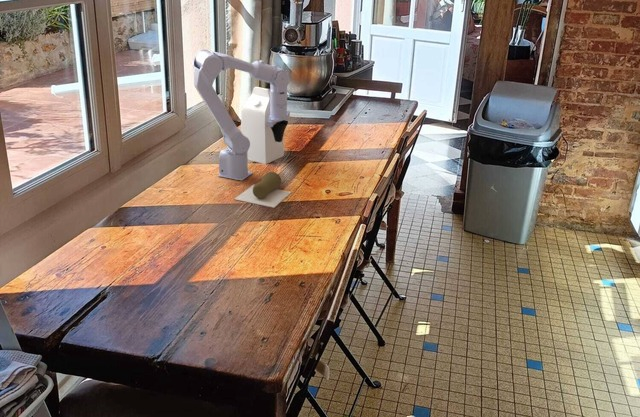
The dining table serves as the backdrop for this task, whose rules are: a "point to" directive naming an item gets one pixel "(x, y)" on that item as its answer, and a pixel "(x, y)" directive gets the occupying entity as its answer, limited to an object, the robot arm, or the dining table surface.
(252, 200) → the mat
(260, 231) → the dining table surface
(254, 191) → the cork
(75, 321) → the dining table surface
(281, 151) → the milk
